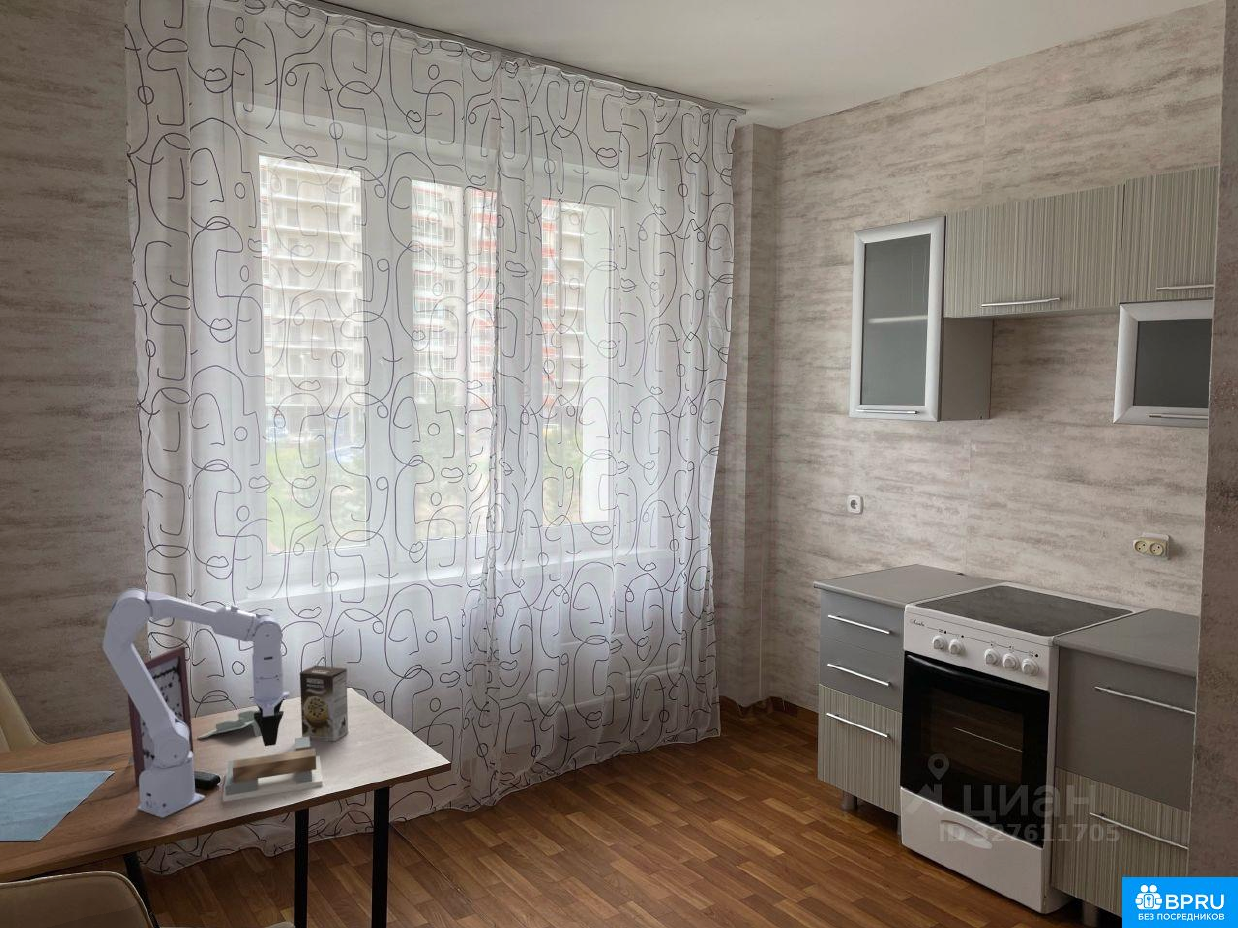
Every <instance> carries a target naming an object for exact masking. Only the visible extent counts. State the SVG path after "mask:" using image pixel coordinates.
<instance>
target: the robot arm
mask: <svg viewBox="0 0 1238 928" xmlns="http://www.w3.org/2000/svg"><path fill="white" fill-rule="evenodd" d="M150 618H152V623H156V622H159V621H162V620H164V619H168V618H172V619H177V620H183V621H186V622H191V623H195V624H201V625H206V626H209V627H211V629H212V632H213V633H214V634H215V635H218V636H223V637H227V638H229V639H234V640H238V641H242V642H252V647H253V648H252V655H251V656H252V657H251V659H252V661H251V662H252V679H253V680H252V681H253V696H252V702H253V703H254V704H255V705H256V706H257V707H258V710H260V712H258V713H254V719H255V721H256V722H257V724H258V726H259V728H260V730H261V734H260V735H261V737H262V742H263V744H264V747H271V746H276V744H277V741H278V734H279V726H280V724H281V720H282V718H283V716H284V710H280V709H281V707H282V704H283V702H284V700H285V699H288V698H290V691H284V676H283V674H284V673H283V672H284V671H283V670H284V669H283V652H282V644H281V642H282V640H283V637H284V633H283V631H282V627H281V626H280V623H279V622H278V620H277V619H276V618H275V617H273V616H271V615H269V614H267V613H265V614H262V613H260V612H256V614H255V613H251V612H248V611H244V610H241V609H239V606H238V605H235V604H231V606H222V607H220V608H218V609H214V608H210V607H206V606H203V605H200V604H198V603H194V602H190V601H187V600H185V599H182V598H181V599H180V598H178V597H174V596H172V595H167V594H165V593H161V592H157V591H153V590H148V591H147V592H146V591H145V590H143V589H141V588H135V587H134V588H133V587H132V588H128V589H125V590H124V591H122V592H121V593H120V594H119V595H117V598H116V599H115V600H114V603H113V604H112V605H111V608H110V610H109V614H108V617H107V621H106V625H105V626H106V627H105V632H104V637H103V641H102V649H103V652H104V654H105V656H106V657H107V659H108V661H109V662H110V665H111V666H112V668H113V669H114V671H115V673H116V675H117V676H118V678H119V680H120V682H121V684H122V685H123V687H124V689H125V691H126V692H127V695H128V694H129V696H130V697H131V699H132V701H133V703H134V704H135V706H136V708H137V710H138V711H139V713H140V715H141V717H142V718H143V720H144V722H145V724H146V725H147V728H148V731H149V735H150V738H151V740H152V741H153V743H154V755H155V757H154V759H153V764H152V765H151V766H150V767H149V768H148V769H147V770H145V771H143V772H142V773H141V774H140V777H139V785H138V789H139V805H138V807H137V809H138V810H140V811H142V812H145V813H148V814H150V815H153V816H156V817H158V818H166V817H168V816H169V815H172V814H174V813H176V812H178V811H180V810H182V809H185V808H187V807H190V806H192V805H194V804H196V803H198V802H201V801H202V800H204V799H206V796H205V795H203V794H201V793H197V792H196V785H195V768H194V767H195V764H194V753H192V752H191V751H190V743H189V735H190V732H189V728H188V726H187V725H186V724H185V723H184V722H182V721H180V720H179V719H178V718H177V717H176V716H175V714H174V712H173V711H172V710H170V709H169V707H168V705H167V704H166V702H165V700H164V698H163V696H162V695H161V693H160V691H159V689H158V688H157V686H156V684H155V682H154V680H153V679H152V677H151V675H150V673H149V672H148V670H147V668H146V666H145V665H144V663H143V662H144V661H143V660H142V658H141V656H140V654H139V653H138V650H137V648H136V647H135V645H134V644H133V642H134V640H135V638H136V636H137V634H138V632H139V631H140V630H141V629H142V628H143V627H144V626H145V625H146V623H147V622H148V621H149V619H150Z"/></svg>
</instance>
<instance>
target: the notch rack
mask: <svg viewBox="0 0 1238 928" xmlns="http://www.w3.org/2000/svg"><path fill="white" fill-rule="evenodd" d="M310 740H311V739H309V736H308V737H302V736H301V737H296V738H295V737H294V752H295V751H301V750H308V749H311V741H310ZM254 757H255V756H253V757H252V758H254ZM247 758H248V757H247ZM247 758H245V759H247ZM241 759H242V758H241ZM241 759H239V760H241ZM233 762H234V760H229V761H228V765H227V769H226V772H225V780H224V787H223V793H222V794H223V795H222V802H223V803H225V802H226V803H227V802H230V801H231V802H232V801H239V800H244V799H249V798H250V799H251V798H255V797H256V798H257V797H262V796H268V795H274V794H280V793H286V792H294V791H299V790H306V789H312V788H318V787H323V776H322V767H321V766H322V765H321V758H320V755H316V770H310V771H303V772H297V773H290V774H284V775H278V776H271V777H265V778H258V779H252V780H246V781H239V782H233Z"/></svg>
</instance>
